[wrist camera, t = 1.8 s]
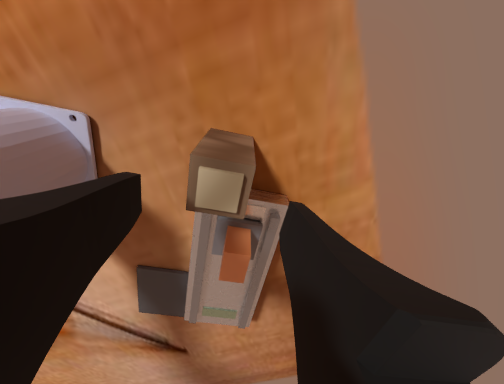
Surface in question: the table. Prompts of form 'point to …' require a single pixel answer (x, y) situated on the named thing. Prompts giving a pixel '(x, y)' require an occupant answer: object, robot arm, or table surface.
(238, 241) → the lever
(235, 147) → the brown rectangular block
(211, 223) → the breaker panel
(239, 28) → the table surface
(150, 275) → the rubber pad
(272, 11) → the table surface
